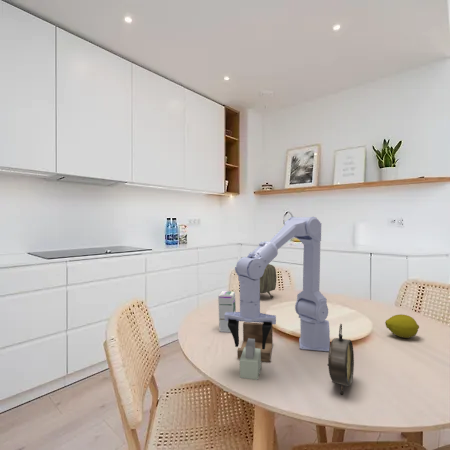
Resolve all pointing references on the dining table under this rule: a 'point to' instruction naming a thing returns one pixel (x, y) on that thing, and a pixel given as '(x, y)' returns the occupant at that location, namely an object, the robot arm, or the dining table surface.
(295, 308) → the robot arm
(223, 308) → the syrup box
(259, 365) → the pale grey boxy piece
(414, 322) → the lemon
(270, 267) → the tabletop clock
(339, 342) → the alarm clock
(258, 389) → the dining table surface
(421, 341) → the dining table surface
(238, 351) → the cleat board
